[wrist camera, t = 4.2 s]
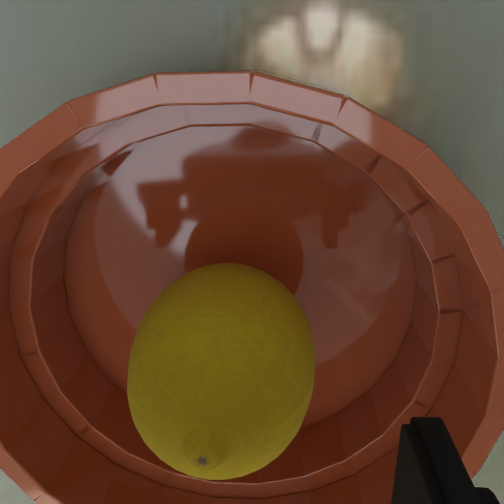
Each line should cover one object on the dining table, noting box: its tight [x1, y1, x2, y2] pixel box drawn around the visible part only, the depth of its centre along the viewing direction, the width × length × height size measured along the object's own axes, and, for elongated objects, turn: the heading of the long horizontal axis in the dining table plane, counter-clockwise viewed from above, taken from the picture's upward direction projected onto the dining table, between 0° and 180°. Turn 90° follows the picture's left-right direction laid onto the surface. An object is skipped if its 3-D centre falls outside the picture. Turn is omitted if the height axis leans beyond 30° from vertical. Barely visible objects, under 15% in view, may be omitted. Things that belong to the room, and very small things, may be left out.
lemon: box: [127, 263, 316, 480], centre depth 14 cm, size 6×6×8 cm
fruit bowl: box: [0, 71, 504, 504], centre depth 16 cm, size 16×16×6 cm
